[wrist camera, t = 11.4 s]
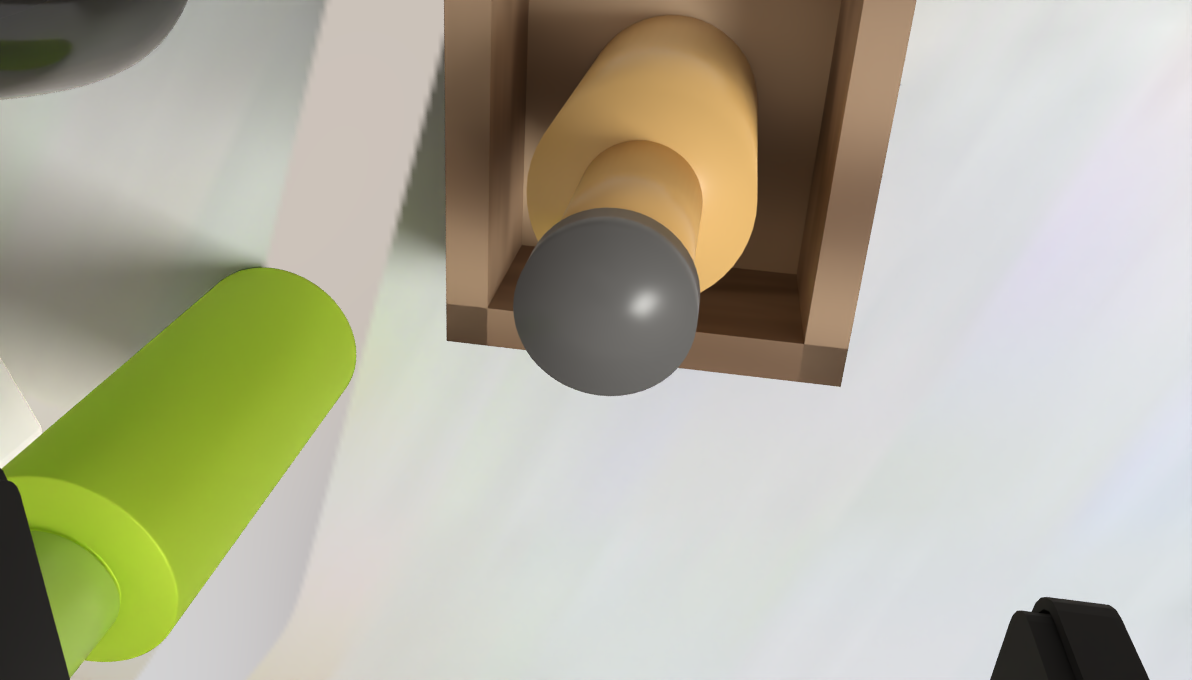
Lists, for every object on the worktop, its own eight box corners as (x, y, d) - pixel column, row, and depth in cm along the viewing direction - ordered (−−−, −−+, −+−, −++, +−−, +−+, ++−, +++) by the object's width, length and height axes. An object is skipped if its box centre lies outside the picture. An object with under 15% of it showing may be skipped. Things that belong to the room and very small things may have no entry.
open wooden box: (493, -86, 29) (443, -70, 25) (892, -56, 28) (922, -32, 24) (488, 268, 35) (446, 340, 30) (827, 305, 34) (840, 386, 29)
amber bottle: (590, 7, 30) (456, 153, 17) (768, 23, 29) (777, 186, 16) (581, 177, 32) (457, 424, 19) (745, 194, 32) (736, 460, 18)
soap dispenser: (163, 255, 36) (-401, 667, 18) (352, 275, 35) (-45, 721, 18) (185, 398, 39) (-289, 878, 21) (360, 419, 38) (23, 932, 20)
